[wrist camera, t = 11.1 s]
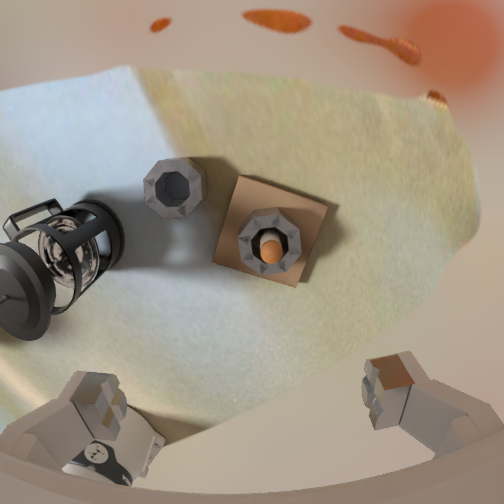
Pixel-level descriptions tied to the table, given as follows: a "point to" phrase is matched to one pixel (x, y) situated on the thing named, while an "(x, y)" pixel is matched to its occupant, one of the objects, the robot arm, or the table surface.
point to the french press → (52, 263)
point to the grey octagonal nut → (268, 220)
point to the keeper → (268, 239)
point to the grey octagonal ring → (165, 203)
